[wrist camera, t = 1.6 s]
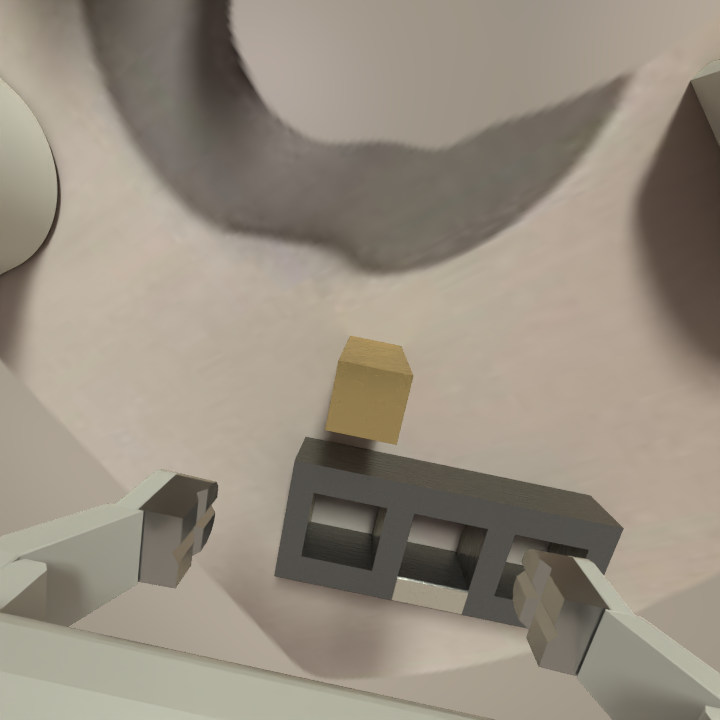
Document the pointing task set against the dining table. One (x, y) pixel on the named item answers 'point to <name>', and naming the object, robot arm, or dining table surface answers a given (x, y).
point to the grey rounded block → (709, 94)
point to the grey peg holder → (437, 500)
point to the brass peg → (370, 391)
